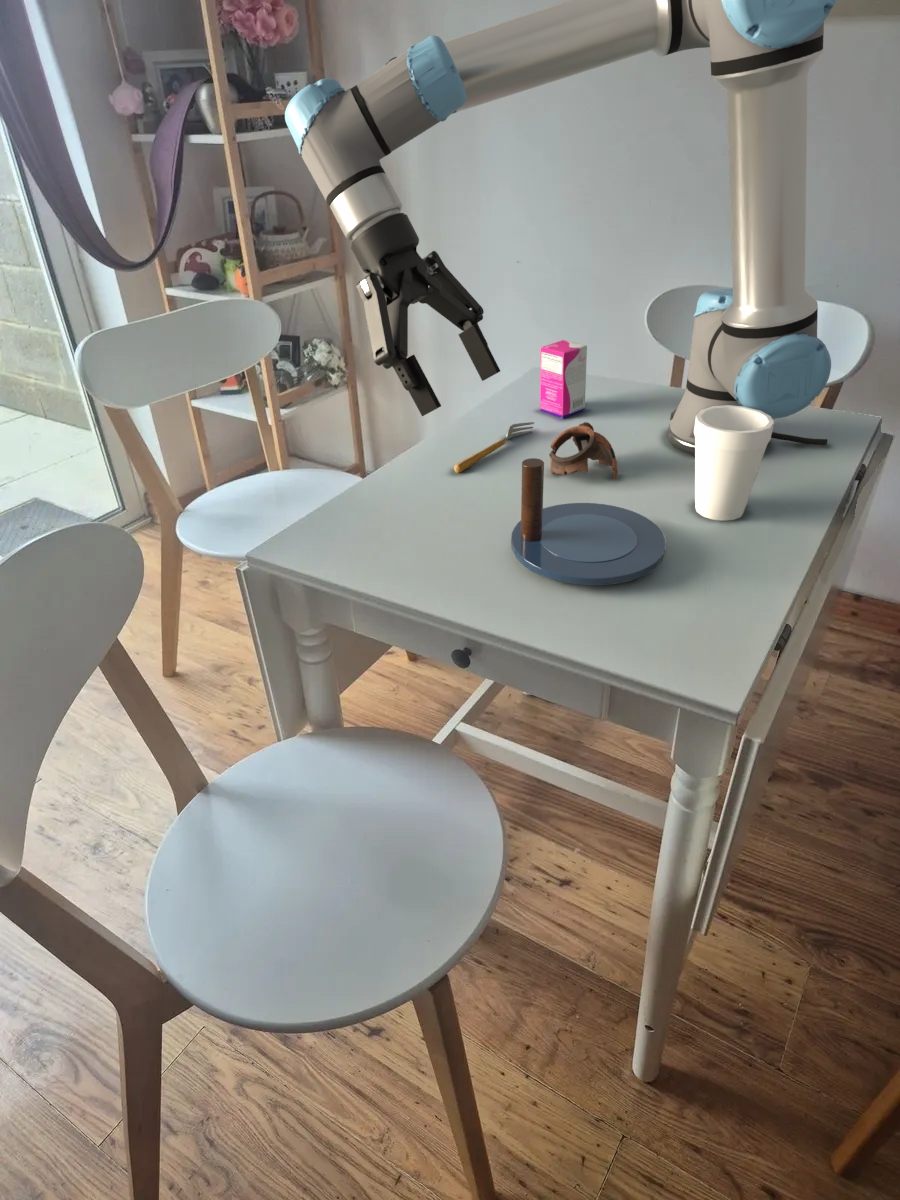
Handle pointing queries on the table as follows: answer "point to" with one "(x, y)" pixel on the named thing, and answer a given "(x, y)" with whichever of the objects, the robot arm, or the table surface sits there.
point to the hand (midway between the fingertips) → (463, 393)
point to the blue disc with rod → (582, 538)
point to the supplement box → (563, 378)
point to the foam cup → (728, 458)
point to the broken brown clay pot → (582, 451)
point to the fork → (492, 447)
